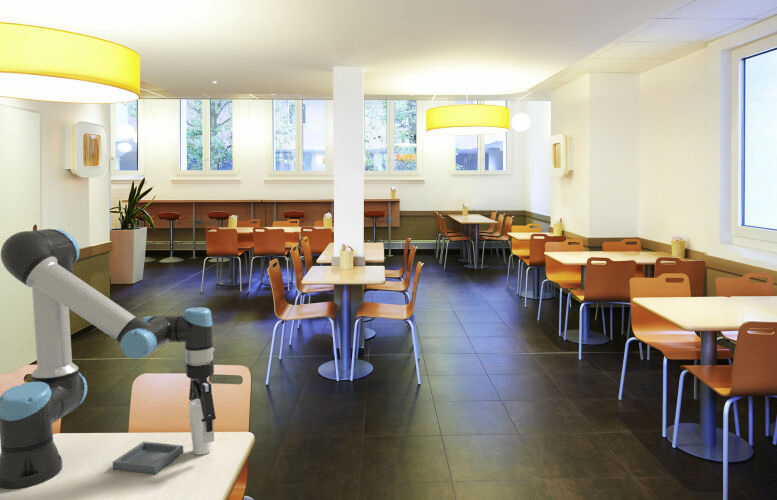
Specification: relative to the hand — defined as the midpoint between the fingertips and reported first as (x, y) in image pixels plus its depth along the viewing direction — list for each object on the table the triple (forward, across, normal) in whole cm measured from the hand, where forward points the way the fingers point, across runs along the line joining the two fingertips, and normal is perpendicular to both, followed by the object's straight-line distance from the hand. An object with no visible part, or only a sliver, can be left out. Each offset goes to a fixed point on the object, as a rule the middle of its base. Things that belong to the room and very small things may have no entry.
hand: (202, 433), depth 160 cm
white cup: (+6, 0, 0) cm, 6 cm away
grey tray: (+5, +2, +14) cm, 15 cm away
